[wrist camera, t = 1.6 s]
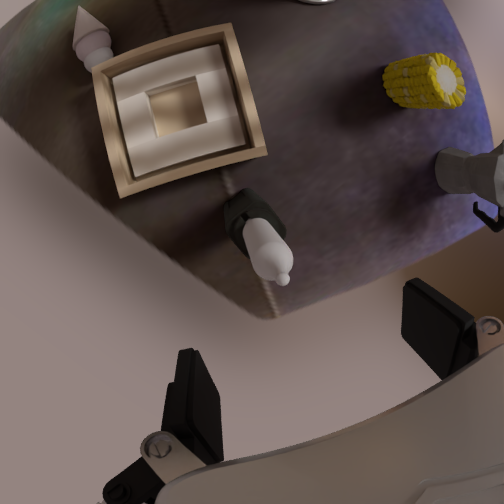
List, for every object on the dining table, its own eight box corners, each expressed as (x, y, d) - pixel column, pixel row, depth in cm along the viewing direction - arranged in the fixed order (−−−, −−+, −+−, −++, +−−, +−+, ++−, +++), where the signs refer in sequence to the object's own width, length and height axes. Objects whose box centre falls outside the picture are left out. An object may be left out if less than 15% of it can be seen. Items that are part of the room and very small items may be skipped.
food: (411, 73, 36) (408, 117, 39) (370, 49, 32) (367, 97, 36) (473, 71, 24) (473, 123, 27) (438, 36, 20) (439, 95, 23)
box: (106, 78, 31) (91, 67, 25) (229, 40, 31) (231, 22, 26) (133, 192, 37) (120, 198, 31) (260, 155, 38) (267, 154, 32)
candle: (242, 233, 41) (274, 332, 17) (220, 207, 39) (222, 277, 16) (269, 211, 40) (338, 284, 17) (248, 184, 39) (294, 222, 15)
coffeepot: (432, 133, 39) (508, 135, 22) (462, 140, 40) (530, 146, 23) (431, 214, 44) (502, 241, 27) (459, 214, 45) (524, 238, 28)
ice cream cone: (89, 11, 25) (114, 73, 32) (57, 21, 22) (80, 86, 29) (101, -10, 21) (128, 55, 28) (66, -2, 18) (90, 67, 25)
